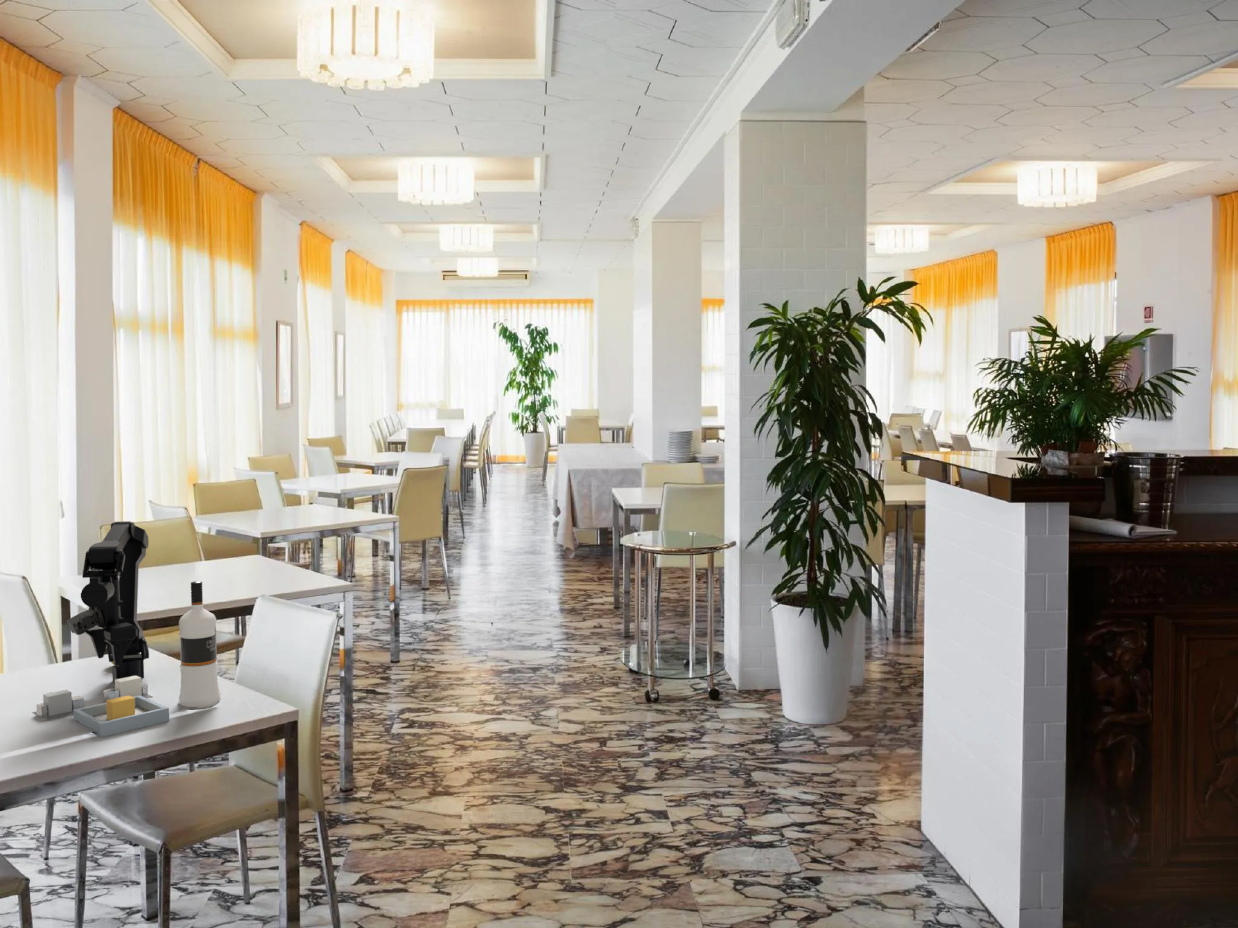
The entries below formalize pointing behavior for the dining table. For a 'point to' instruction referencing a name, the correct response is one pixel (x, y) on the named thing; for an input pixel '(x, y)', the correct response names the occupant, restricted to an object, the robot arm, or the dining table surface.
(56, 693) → the block
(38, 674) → the dining table surface
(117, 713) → the block
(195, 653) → the vodka
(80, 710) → the tray
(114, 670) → the robot arm
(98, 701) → the board
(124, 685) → the block
